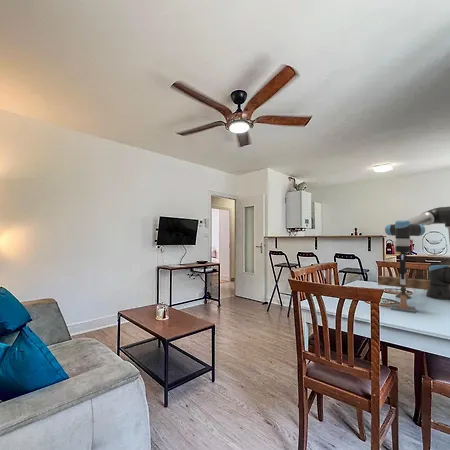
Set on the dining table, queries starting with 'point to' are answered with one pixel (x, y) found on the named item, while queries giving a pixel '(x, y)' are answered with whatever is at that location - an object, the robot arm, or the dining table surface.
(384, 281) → the bar
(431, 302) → the dining table surface
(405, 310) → the fulcrum
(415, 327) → the dining table surface
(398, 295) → the candlestick holder
